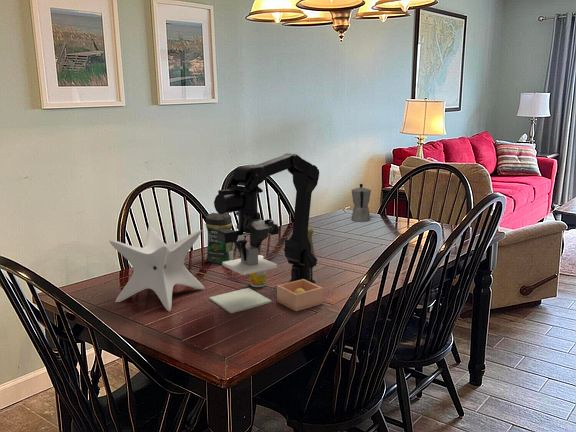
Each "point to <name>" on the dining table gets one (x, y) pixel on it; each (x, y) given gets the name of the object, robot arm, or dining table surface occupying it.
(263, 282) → the supplement bottle
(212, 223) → the coffee jar
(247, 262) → the lid
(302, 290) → the ball
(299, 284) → the open wooden box
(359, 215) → the coffeepot
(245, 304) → the mat
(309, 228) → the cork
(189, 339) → the dining table surface
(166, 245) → the white spiked star
